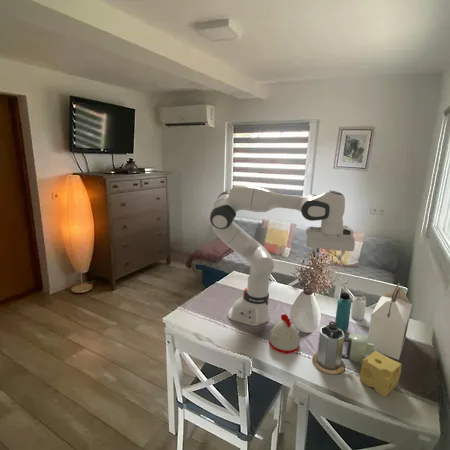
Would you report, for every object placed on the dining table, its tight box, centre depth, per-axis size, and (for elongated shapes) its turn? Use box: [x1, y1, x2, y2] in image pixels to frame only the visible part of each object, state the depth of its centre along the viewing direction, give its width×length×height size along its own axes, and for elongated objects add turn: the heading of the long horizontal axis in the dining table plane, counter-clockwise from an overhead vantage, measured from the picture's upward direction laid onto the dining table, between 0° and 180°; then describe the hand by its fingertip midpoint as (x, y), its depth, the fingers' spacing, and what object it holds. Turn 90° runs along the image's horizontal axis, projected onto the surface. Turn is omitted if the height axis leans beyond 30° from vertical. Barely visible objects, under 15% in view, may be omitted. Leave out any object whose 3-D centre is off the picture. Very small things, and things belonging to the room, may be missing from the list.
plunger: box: [326, 321, 339, 338], centre depth 120 cm, size 7×7×13 cm
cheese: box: [359, 350, 402, 398], centre depth 112 cm, size 10×11×10 cm
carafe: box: [311, 324, 352, 376], centre depth 121 cm, size 14×13×15 cm
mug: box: [345, 332, 374, 363], centre depth 127 cm, size 10×8×9 cm
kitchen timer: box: [268, 313, 301, 355], centre depth 134 cm, size 14×14×15 cm
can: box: [350, 294, 367, 321], centre depth 157 cm, size 6×6×12 cm
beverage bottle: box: [334, 292, 352, 332], centre depth 144 cm, size 6×7×20 cm
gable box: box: [367, 282, 413, 361], centre depth 135 cm, size 22×13×28 cm, turn 142°
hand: (328, 258), depth 130 cm, fingers open, 8 cm apart
